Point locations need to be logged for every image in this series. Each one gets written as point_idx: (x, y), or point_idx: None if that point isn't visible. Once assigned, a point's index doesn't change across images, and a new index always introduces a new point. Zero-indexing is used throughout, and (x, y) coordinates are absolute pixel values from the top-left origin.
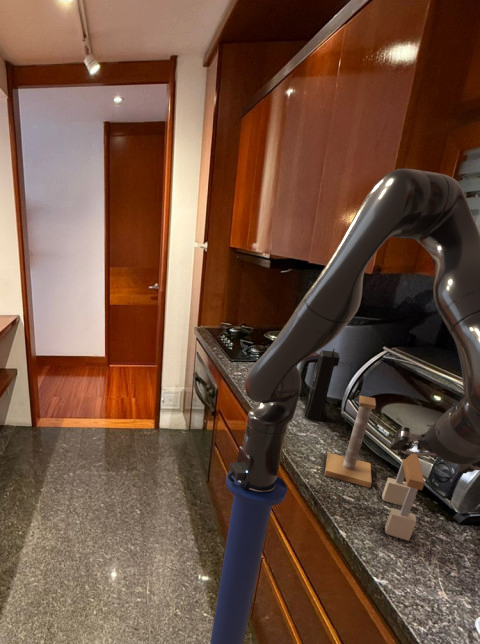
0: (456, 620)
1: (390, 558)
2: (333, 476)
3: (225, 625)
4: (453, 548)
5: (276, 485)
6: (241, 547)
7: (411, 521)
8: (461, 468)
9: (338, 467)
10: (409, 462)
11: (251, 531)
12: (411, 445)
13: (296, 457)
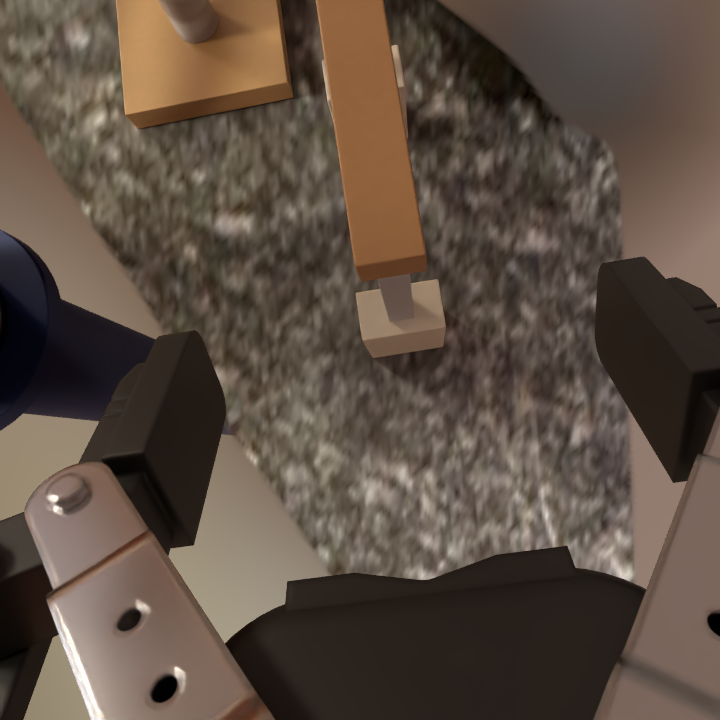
0: None
1: (400, 492)
2: (164, 119)
3: None
4: (572, 284)
5: (8, 298)
6: (98, 420)
7: (430, 331)
8: (609, 343)
9: (164, 58)
10: (342, 68)
11: (76, 409)
12: (153, 472)
13: (24, 73)
